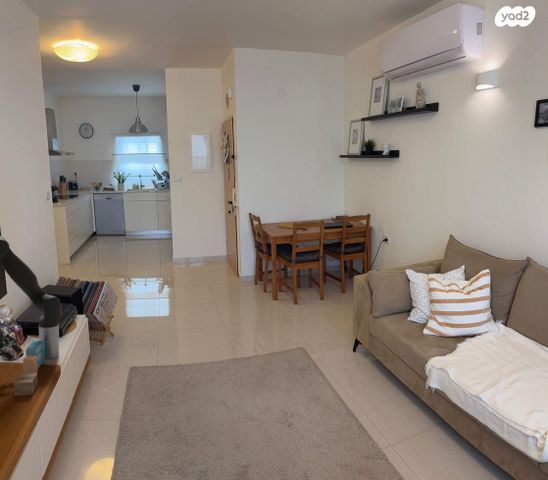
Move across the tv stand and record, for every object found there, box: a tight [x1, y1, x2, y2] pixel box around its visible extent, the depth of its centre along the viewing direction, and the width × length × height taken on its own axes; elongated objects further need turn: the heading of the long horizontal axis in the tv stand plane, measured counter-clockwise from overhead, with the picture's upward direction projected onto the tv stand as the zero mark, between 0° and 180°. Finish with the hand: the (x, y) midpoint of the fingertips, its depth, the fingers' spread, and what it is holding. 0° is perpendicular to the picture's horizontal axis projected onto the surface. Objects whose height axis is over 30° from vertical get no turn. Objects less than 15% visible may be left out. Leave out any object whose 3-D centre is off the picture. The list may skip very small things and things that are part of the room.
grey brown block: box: [13, 373, 38, 397], centre depth 196 cm, size 9×7×6 cm
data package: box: [25, 340, 44, 368], centre depth 219 cm, size 12×4×12 cm, turn 13°
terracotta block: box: [22, 355, 39, 374], centre depth 208 cm, size 5×5×10 cm
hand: (16, 355), depth 207 cm, fingers open, 8 cm apart
